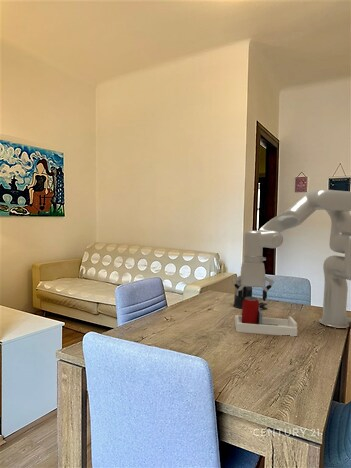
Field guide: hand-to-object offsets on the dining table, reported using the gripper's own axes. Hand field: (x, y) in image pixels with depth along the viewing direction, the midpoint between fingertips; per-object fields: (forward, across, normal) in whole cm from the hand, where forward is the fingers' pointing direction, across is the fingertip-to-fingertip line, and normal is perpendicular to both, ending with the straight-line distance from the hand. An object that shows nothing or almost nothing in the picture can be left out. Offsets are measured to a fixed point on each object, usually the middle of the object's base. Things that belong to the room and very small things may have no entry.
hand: (252, 299), depth 137 cm
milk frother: (+13, -3, -34) cm, 37 cm away
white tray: (+12, -5, 0) cm, 14 cm away
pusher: (+11, -7, 0) cm, 13 cm away
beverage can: (+12, +1, 0) cm, 12 cm away
